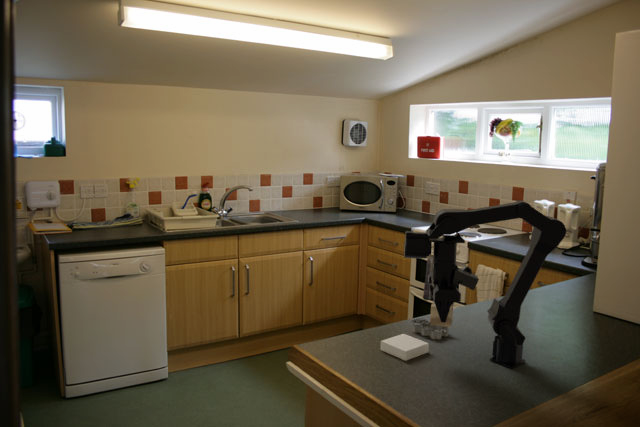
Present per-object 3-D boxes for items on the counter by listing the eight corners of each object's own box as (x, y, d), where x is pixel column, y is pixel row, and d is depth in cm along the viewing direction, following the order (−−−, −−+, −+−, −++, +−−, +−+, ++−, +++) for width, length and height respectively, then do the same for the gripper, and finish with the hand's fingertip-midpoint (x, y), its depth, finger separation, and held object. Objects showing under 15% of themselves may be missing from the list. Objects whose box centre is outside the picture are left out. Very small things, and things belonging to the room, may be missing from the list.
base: (428, 352, 143) (428, 343, 143) (405, 360, 138) (405, 351, 137) (403, 342, 150) (403, 333, 150) (380, 349, 145) (380, 340, 144)
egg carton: (452, 336, 156) (452, 322, 156) (435, 341, 152) (435, 327, 151) (424, 325, 164) (424, 312, 164) (407, 330, 160) (407, 317, 159)
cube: (450, 327, 135) (451, 308, 134) (430, 324, 137) (431, 305, 136) (452, 321, 140) (453, 302, 139) (433, 318, 141) (434, 300, 141)
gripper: (484, 269, 126) (480, 332, 128) (470, 252, 144) (467, 308, 146) (436, 267, 127) (433, 330, 129) (428, 251, 145) (426, 306, 148)
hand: (441, 318), depth 138 cm, fingers closed on cube, 6 cm apart
